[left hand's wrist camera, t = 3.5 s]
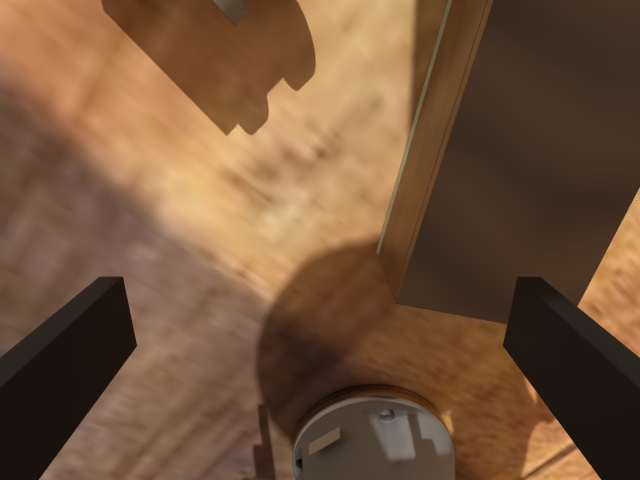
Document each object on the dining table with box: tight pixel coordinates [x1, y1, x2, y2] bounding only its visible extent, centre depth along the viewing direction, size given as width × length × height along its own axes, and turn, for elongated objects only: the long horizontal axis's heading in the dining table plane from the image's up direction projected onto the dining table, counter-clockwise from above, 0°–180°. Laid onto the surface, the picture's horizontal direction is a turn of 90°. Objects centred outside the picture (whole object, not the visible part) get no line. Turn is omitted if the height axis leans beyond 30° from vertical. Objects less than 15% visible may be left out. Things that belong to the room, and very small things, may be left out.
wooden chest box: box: [376, 0, 640, 324], centre depth 23 cm, size 18×11×8 cm, turn 168°
